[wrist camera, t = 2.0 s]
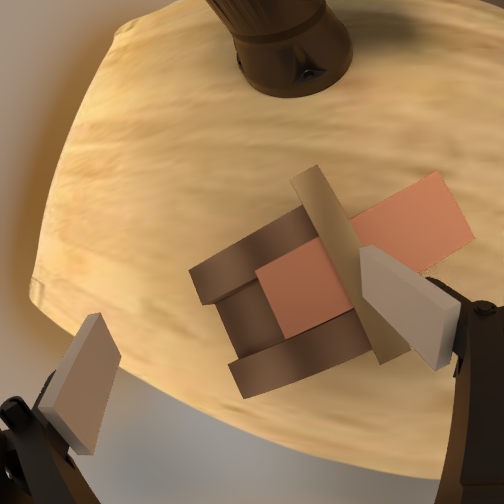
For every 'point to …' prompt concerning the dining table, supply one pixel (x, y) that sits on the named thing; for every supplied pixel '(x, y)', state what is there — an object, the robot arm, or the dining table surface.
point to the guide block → (261, 314)
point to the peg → (370, 233)
